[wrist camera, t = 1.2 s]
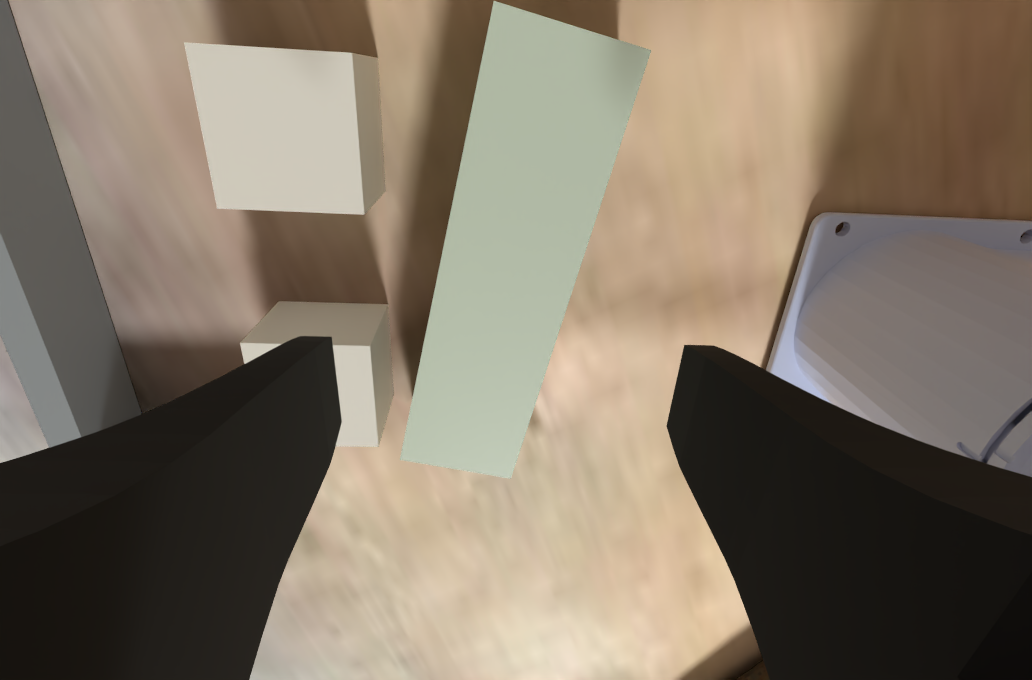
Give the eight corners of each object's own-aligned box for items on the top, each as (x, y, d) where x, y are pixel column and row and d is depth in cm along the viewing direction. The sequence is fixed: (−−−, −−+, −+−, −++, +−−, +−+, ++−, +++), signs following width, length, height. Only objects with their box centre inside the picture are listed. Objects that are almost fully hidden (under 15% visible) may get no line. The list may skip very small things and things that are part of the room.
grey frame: (206, -59, 14) (141, -90, 12) (293, 442, 22) (266, 492, 19) (-65, -79, 14) (-196, -116, 11) (120, 440, 22) (67, 491, 19)
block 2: (388, 302, 20) (369, 345, 17) (394, 392, 21) (378, 446, 18) (279, 299, 19) (240, 342, 16) (294, 390, 21) (261, 445, 18)
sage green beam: (616, 55, 16) (651, 50, 13) (507, 414, 22) (510, 478, 19) (492, 18, 16) (493, 0, 12) (414, 397, 22) (399, 459, 18)
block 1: (378, 57, 16) (352, 52, 13) (386, 190, 18) (364, 214, 15) (244, 49, 16) (184, 42, 13) (265, 185, 18) (217, 208, 14)
